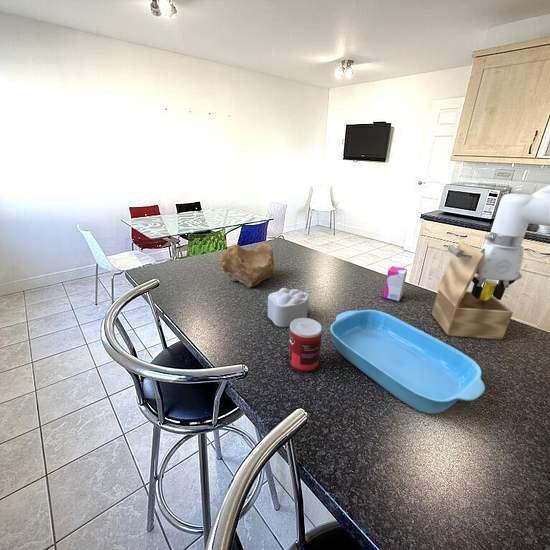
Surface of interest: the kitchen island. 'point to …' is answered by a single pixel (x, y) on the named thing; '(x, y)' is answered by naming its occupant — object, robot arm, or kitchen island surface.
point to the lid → (460, 272)
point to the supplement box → (395, 283)
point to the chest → (472, 316)
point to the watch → (488, 290)
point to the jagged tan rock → (248, 264)
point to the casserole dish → (407, 360)
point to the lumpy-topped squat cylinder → (287, 306)
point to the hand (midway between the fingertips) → (485, 296)
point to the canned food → (304, 344)
